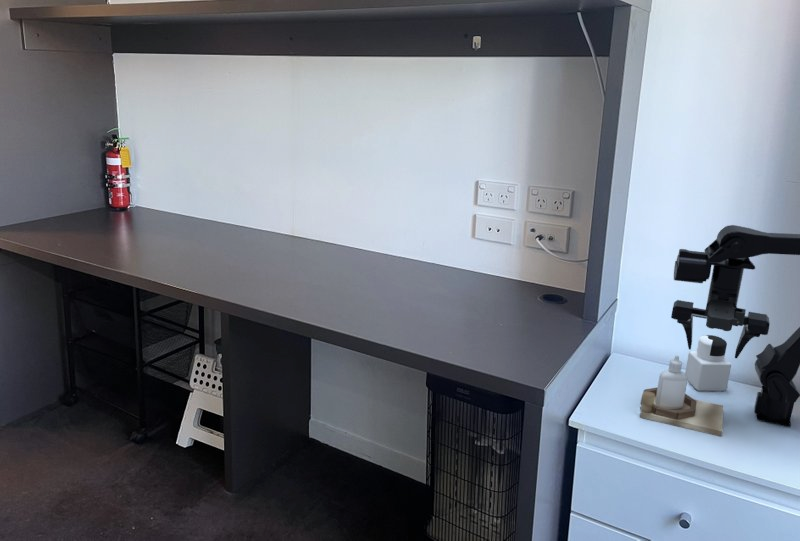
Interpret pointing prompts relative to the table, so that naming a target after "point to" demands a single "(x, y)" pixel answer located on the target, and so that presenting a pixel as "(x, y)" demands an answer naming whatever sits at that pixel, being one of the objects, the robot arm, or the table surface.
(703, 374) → the medicine bottle
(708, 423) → the board
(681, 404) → the eye dropper bottle
